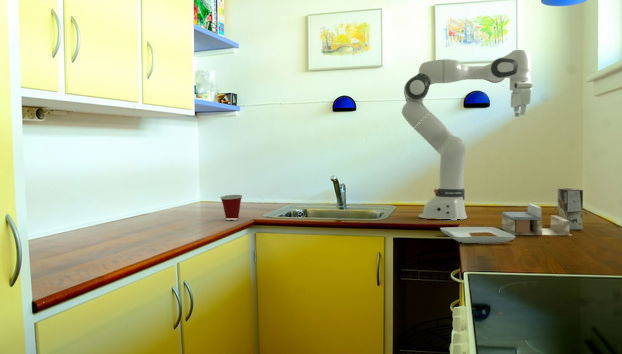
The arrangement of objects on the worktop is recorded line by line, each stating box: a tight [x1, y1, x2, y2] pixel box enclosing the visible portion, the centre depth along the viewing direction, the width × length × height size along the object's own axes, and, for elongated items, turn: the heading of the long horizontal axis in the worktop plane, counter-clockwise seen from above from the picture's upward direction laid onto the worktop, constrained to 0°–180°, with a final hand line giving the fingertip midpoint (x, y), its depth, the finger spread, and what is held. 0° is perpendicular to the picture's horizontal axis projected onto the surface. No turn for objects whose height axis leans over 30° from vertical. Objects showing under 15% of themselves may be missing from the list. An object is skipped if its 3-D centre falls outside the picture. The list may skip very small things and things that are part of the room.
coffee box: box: [557, 188, 584, 230], centre depth 199 cm, size 9×6×16 cm
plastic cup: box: [219, 194, 243, 219], centre depth 237 cm, size 11×11×12 cm
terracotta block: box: [515, 220, 530, 233], centre depth 187 cm, size 5×5×5 cm
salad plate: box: [439, 226, 516, 244], centre depth 178 cm, size 21×21×3 cm
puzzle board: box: [501, 214, 572, 236], centre depth 186 cm, size 22×14×6 cm
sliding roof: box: [501, 203, 543, 221], centre depth 187 cm, size 11×14×4 cm
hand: (519, 115), depth 224 cm, fingers open, 8 cm apart
